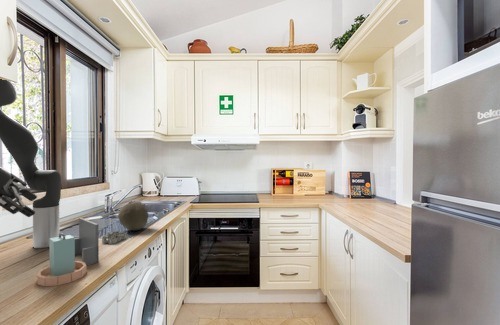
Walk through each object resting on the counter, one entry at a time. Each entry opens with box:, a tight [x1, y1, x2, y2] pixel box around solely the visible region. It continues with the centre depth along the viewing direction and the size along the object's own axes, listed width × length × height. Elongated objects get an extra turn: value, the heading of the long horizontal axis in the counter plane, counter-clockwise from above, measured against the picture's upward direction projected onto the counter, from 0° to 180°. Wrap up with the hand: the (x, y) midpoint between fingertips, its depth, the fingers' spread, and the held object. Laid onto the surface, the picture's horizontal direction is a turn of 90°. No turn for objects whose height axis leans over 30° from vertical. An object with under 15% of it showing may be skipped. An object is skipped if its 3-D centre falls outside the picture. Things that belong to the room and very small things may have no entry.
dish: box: [36, 260, 87, 287], centre depth 83 cm, size 13×13×2 cm
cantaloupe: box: [117, 202, 149, 231], centre depth 138 cm, size 14×14×15 cm
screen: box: [75, 217, 100, 267], centre depth 98 cm, size 5×17×14 cm, turn 51°
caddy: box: [49, 231, 76, 277], centre depth 83 cm, size 6×5×14 cm
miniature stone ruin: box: [100, 229, 128, 245], centre depth 121 cm, size 11×8×4 cm
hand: (33, 206), depth 82 cm, fingers open, 8 cm apart
